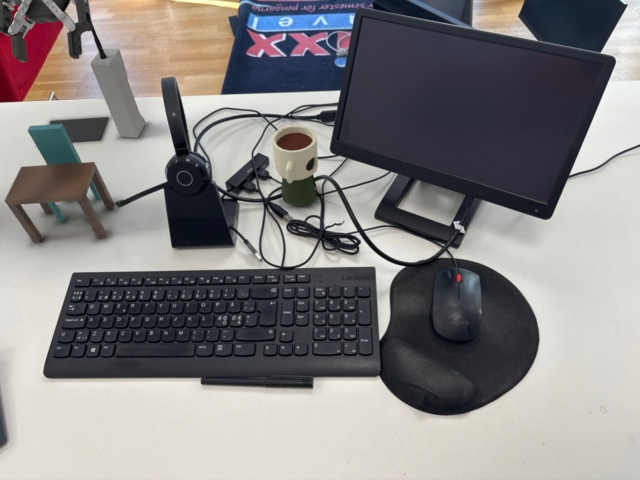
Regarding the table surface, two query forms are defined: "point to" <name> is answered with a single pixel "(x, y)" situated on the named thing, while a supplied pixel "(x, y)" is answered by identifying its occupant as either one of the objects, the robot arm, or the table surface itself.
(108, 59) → the vintage mobile phone
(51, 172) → the desk
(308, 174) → the character mug
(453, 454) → the table surface
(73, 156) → the chair
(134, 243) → the table surface
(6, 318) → the table surface
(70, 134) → the mat
